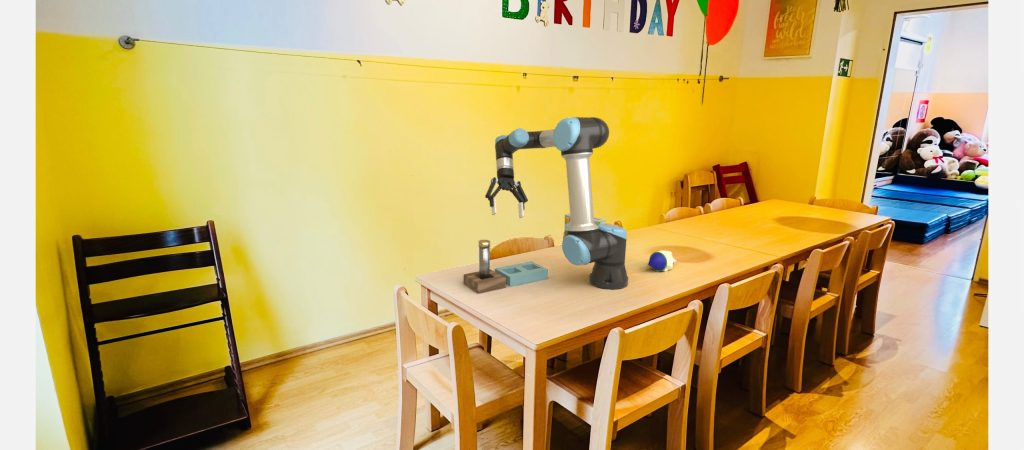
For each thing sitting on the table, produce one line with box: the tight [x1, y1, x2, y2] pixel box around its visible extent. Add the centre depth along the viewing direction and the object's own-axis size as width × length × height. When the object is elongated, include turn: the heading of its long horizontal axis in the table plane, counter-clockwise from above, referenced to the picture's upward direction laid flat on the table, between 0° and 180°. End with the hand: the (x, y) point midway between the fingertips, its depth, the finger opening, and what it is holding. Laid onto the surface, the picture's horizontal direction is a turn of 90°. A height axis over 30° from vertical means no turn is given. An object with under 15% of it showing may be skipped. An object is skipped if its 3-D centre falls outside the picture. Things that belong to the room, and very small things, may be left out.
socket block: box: [463, 268, 507, 295], centre depth 193 cm, size 12×12×4 cm
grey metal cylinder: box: [478, 239, 491, 280], centre depth 191 cm, size 4×4×18 cm
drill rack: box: [494, 261, 549, 288], centre depth 202 cm, size 12×18×4 cm, turn 122°
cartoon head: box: [647, 249, 678, 273], centre depth 212 cm, size 9×10×20 cm
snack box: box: [563, 212, 607, 239], centre depth 246 cm, size 21×6×15 cm, turn 47°
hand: (508, 215), depth 214 cm, fingers open, 13 cm apart
